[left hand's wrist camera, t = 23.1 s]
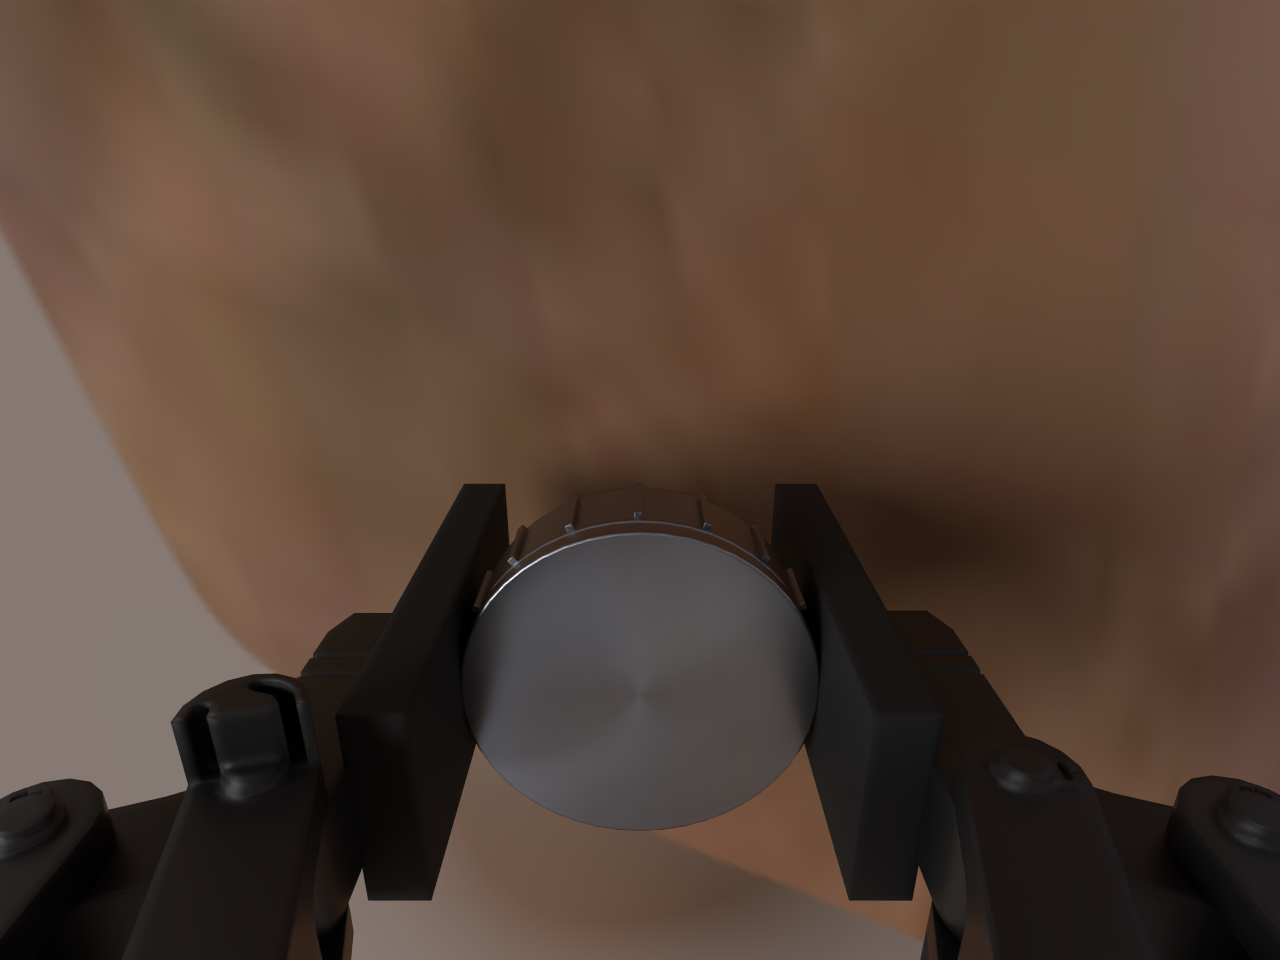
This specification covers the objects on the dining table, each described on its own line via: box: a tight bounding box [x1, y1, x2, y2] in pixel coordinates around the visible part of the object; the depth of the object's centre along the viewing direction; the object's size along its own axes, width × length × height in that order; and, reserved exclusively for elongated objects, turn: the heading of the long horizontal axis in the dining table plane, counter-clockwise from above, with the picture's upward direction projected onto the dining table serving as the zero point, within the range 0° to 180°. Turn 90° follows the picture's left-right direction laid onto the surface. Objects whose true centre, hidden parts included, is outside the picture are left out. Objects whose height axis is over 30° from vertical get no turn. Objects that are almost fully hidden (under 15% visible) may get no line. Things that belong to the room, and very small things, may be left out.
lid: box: [460, 483, 820, 831], centre depth 11 cm, size 5×5×2 cm
